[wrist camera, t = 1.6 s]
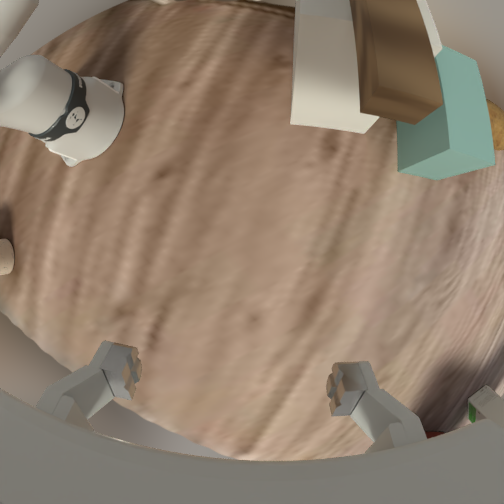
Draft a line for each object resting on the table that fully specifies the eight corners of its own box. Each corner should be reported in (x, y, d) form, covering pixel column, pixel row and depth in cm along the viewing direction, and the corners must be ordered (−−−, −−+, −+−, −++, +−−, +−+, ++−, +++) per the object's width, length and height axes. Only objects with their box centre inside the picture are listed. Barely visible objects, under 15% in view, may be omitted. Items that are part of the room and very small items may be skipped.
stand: (290, 124, 40) (299, 13, 15) (293, 39, 39) (297, -72, 13) (364, 133, 39) (442, 48, 14) (359, 48, 38) (400, -51, 12)
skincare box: (466, 398, 41) (500, 433, 26) (487, 382, 41) (523, 413, 25) (467, 419, 42) (496, 454, 26) (487, 404, 41) (518, 436, 25)
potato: (503, 164, 37) (527, 158, 29) (455, 138, 38) (479, 127, 30) (501, 123, 35) (522, 114, 28) (454, 96, 36) (475, 80, 29)
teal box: (397, 171, 39) (449, 148, 24) (393, 87, 38) (431, 40, 22) (436, 180, 39) (495, 164, 23) (431, 98, 37) (476, 60, 21)
